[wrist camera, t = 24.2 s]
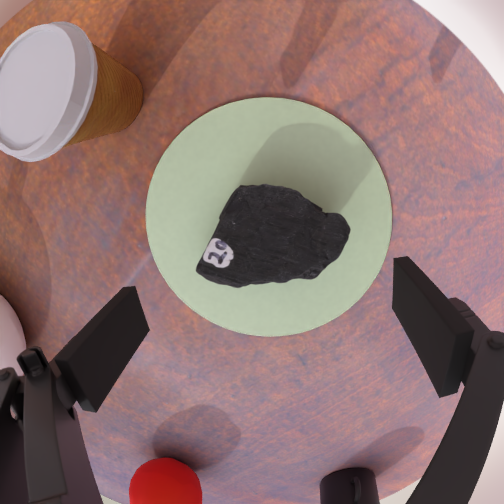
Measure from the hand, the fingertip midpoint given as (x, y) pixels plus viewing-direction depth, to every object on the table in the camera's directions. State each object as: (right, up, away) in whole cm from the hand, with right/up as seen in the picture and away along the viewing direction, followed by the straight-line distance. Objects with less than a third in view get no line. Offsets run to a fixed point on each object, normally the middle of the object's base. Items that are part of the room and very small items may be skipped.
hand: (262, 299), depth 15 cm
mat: (+1, +4, +12) cm, 13 cm away
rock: (+1, +4, +12) cm, 13 cm away
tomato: (-13, -32, +27) cm, 44 cm away
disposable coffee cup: (-13, +16, +9) cm, 23 cm away
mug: (+15, -35, +25) cm, 45 cm away
